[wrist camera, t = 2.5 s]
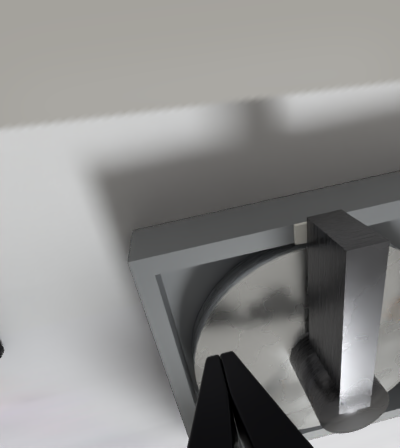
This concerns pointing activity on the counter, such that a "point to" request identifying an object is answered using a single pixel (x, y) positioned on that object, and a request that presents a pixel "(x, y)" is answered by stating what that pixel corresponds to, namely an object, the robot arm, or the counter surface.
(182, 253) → the dial base
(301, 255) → the dial
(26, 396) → the counter surface
